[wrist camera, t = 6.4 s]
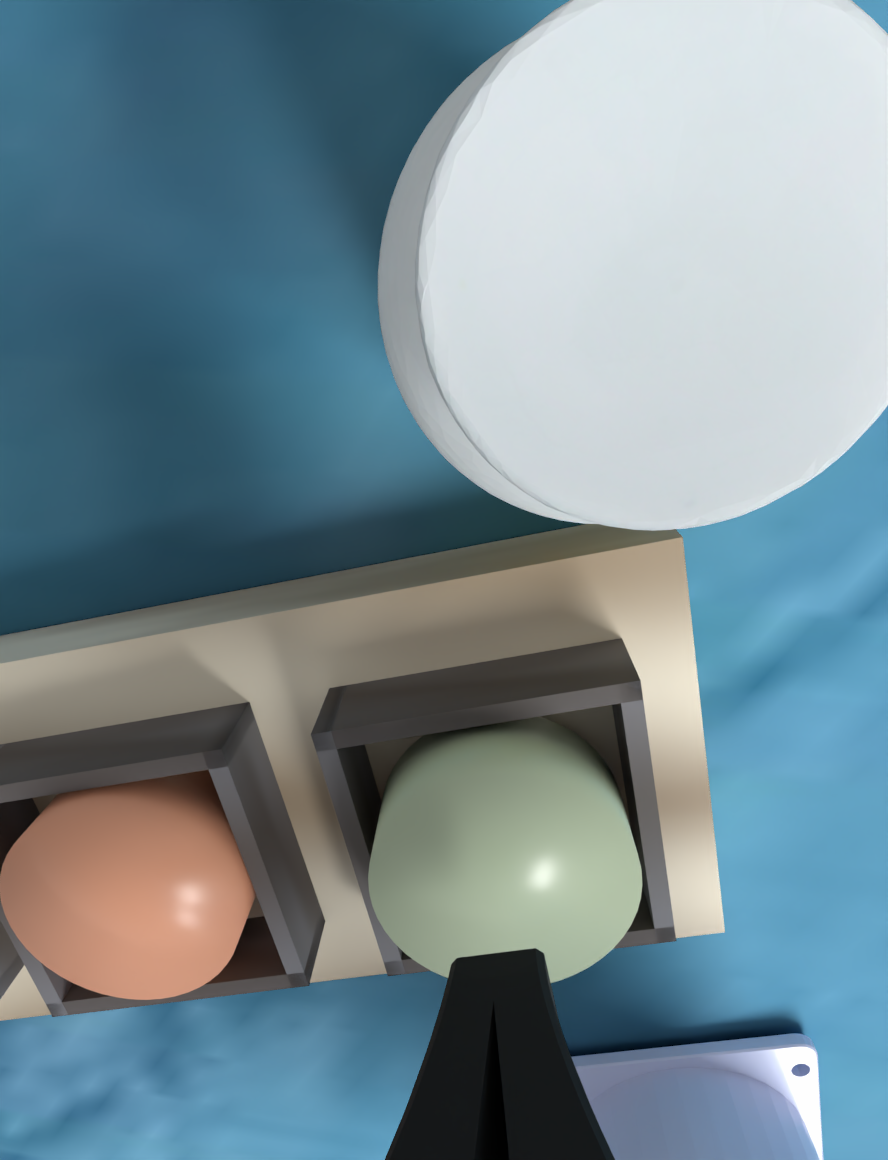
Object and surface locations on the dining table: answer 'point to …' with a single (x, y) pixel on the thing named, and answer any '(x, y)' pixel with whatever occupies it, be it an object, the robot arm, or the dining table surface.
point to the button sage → (504, 848)
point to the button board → (366, 729)
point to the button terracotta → (130, 887)
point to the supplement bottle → (649, 259)
